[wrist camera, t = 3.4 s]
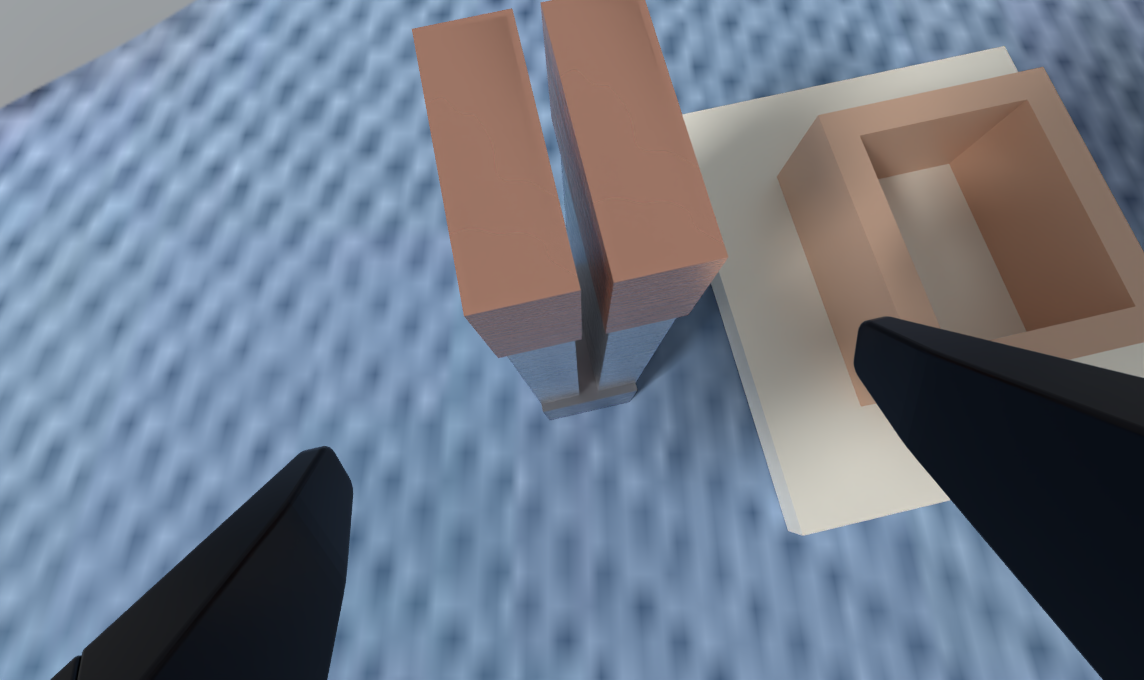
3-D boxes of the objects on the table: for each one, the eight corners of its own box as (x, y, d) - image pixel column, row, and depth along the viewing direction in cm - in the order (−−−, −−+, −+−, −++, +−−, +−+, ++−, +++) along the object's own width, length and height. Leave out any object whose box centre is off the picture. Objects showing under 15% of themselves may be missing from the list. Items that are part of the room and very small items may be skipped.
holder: (1169, 439, 18) (1371, 430, 13) (788, 530, 17) (861, 554, 13) (981, 68, 22) (1088, -38, 17) (665, 136, 21) (687, 46, 17)
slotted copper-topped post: (631, 401, 19) (732, 268, 6) (546, 420, 18) (466, 327, 6) (603, 288, 20) (636, -26, 7) (523, 306, 20) (410, 20, 7)
